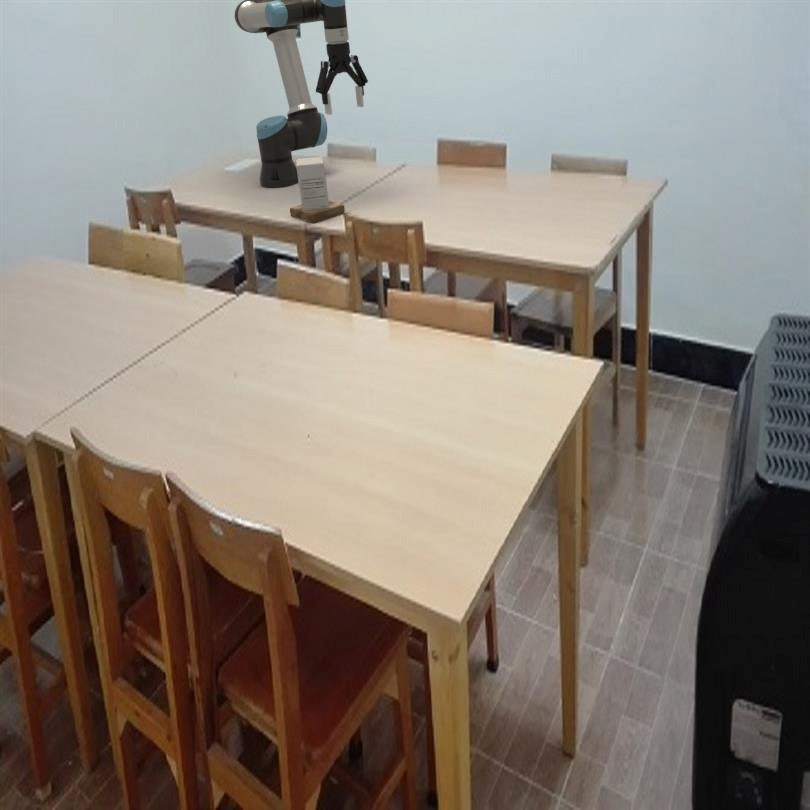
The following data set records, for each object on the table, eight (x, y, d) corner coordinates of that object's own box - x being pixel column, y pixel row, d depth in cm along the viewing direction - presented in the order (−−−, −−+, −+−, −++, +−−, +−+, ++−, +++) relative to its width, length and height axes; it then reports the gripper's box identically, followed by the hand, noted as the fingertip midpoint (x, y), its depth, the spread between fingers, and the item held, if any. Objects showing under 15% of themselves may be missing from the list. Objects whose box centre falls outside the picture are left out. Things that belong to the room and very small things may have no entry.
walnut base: (290, 216, 273) (289, 207, 272) (321, 206, 280) (320, 197, 279) (313, 223, 264) (312, 214, 263) (345, 213, 272) (343, 204, 270)
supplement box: (301, 203, 274) (295, 158, 267) (328, 200, 275) (322, 155, 267) (302, 211, 267) (295, 165, 259) (329, 208, 267) (323, 162, 260)
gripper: (313, 48, 255) (322, 118, 266) (374, 37, 269) (380, 104, 279) (299, 47, 260) (308, 116, 271) (359, 36, 274) (366, 102, 284)
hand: (344, 110), depth 275 cm, fingers open, 13 cm apart
